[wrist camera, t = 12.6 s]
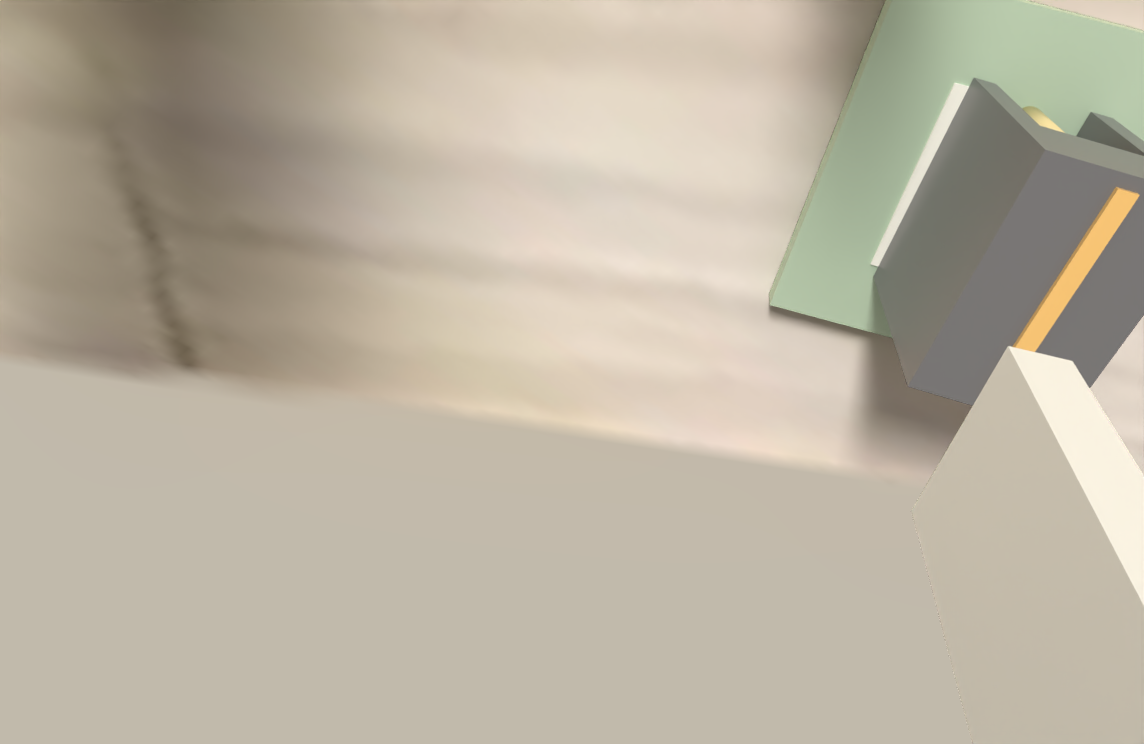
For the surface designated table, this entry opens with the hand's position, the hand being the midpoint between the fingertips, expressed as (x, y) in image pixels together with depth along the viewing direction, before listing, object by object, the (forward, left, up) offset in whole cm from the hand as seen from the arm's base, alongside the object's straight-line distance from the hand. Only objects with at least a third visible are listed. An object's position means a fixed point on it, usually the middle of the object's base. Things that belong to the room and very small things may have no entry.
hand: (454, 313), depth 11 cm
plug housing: (+3, +14, -23) cm, 27 cm away
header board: (+3, +14, -24) cm, 28 cm away
